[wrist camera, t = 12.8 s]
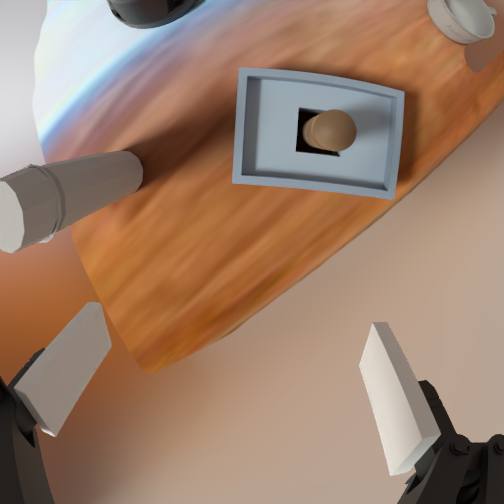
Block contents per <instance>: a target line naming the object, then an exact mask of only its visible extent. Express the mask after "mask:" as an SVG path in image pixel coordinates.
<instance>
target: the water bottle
mask: <svg viewBox="0 0 504 504" xmlns="http://www.w3.org/2000/svg"><path fill="white" fill-rule="evenodd" d="M142 180H143V167H142V165H141V163H140V160H139V158H138V157H137V156H135V155H134V154H133V153H131V152H130V151H115V152H108V153H102V154H96V155H91V156H85V157H80V158H75V159H70V160H65V161H60V162H56V163H51V164H47V165H43V166H37V165H32V164H30V165H28V166H26V167H24V168H23V169H21V170H19V171H17V172H14V173H12V174H10V175H7V176H5V177H3V178H0V249H1V250H2V251H6V252H9V253H14V252H16V251H19V250H21V249H23V248H26V247H28V246H30V245H33V244H35V243H37V242H39V243H44V242H49V241H50V240H51V239H52V238H53V237H54V236H55V234H56V232H58V231H60V230H62V229H64V228H65V227H67V226H69V225H71V224H73V223H75V222H76V221H78V220H80V219H82V218H84V217H86V216H88V215H90V214H92V213H94V212H95V211H97V210H99V209H101V208H103V207H105V206H107V205H109V204H111V203H114V202H116V201H118V200H120V199H122V198H124V197H126V196H128V195H130V194H132V193H134V192H136V191H137V189H138V188H139V186H140V184H141V183H142ZM47 238H48V239H47Z"/></svg>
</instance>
